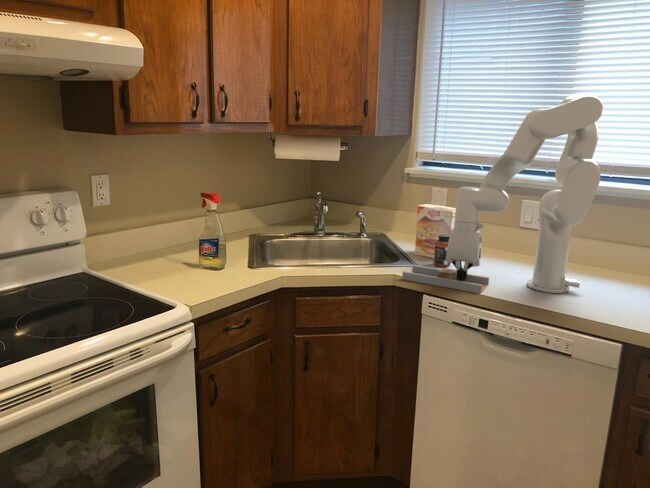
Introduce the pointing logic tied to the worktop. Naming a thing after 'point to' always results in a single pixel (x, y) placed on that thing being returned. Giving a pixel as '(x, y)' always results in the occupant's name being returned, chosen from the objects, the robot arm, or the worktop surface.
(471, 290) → the channel
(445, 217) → the coffeecake box
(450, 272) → the walnut block
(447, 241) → the supplement bottle
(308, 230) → the worktop surface
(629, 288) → the worktop surface
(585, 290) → the worktop surface
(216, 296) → the worktop surface
